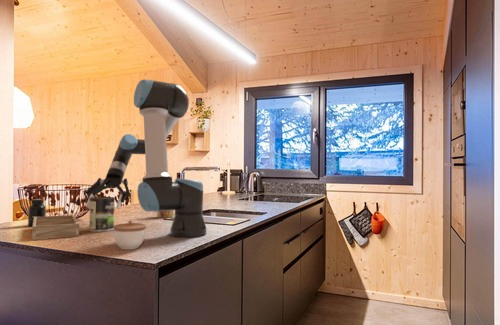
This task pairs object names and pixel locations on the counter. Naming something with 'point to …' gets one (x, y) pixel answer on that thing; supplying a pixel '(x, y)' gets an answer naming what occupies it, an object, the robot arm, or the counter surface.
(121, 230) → the lidded jar
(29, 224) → the supplement bottle
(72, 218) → the caddy
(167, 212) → the candy box
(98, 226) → the coffee can
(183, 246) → the counter surface
